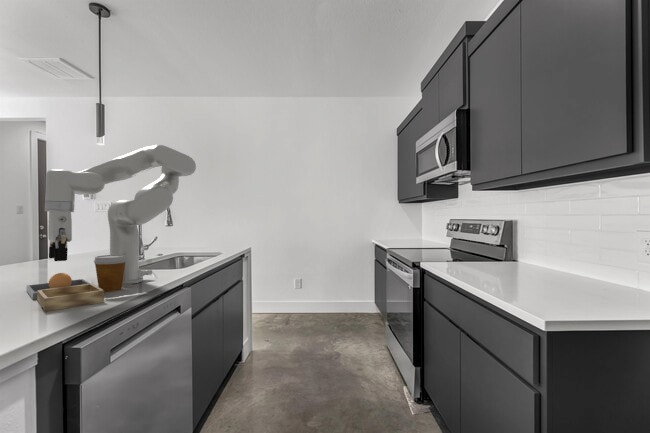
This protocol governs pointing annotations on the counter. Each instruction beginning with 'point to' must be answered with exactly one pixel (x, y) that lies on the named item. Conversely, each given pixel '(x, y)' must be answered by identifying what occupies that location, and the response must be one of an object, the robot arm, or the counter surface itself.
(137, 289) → the counter surface
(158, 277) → the counter surface
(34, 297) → the container
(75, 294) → the tray
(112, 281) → the disposable coffee cup
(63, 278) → the ball
